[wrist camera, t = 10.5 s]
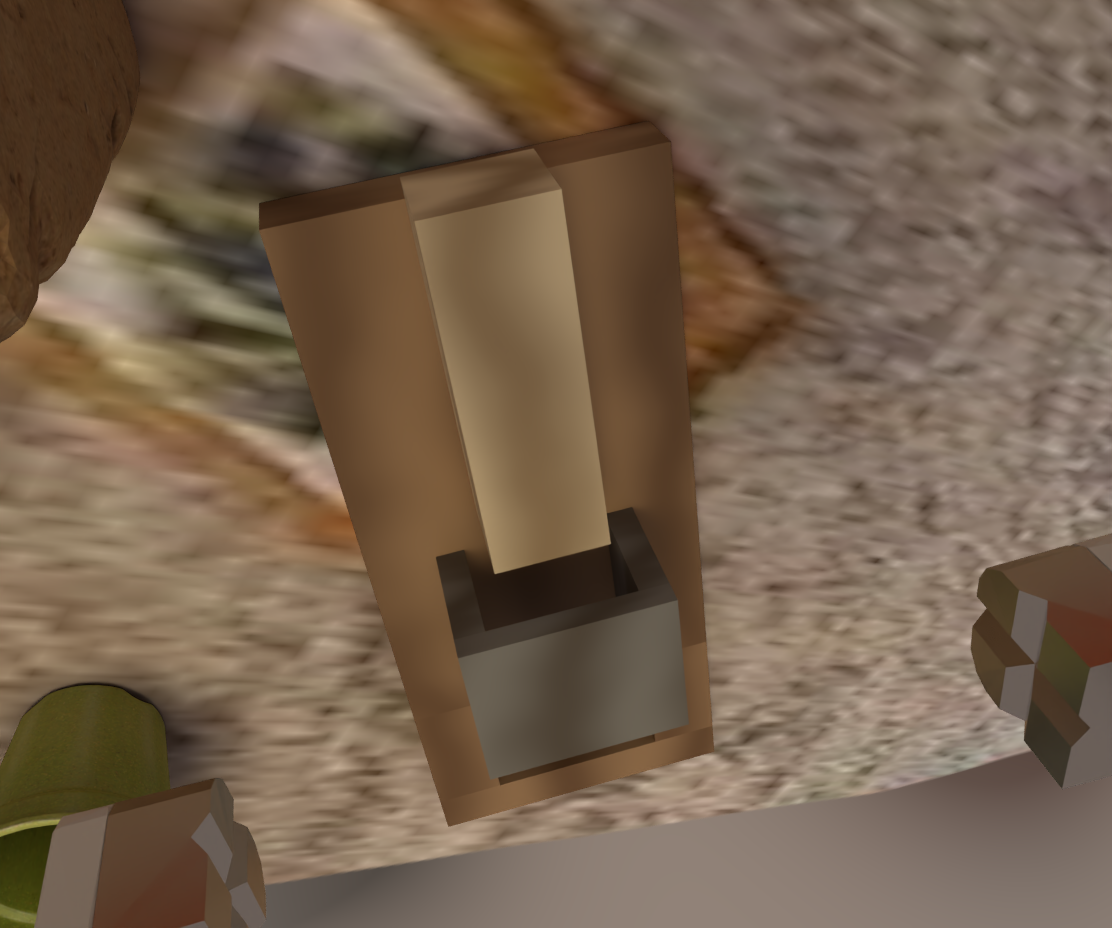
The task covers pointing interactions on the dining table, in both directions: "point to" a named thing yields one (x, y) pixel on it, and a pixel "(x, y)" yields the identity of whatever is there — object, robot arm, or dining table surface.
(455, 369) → the birch bar
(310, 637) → the dining table surface
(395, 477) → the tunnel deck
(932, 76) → the dining table surface
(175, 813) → the robot arm
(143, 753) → the plant pot
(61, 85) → the block
